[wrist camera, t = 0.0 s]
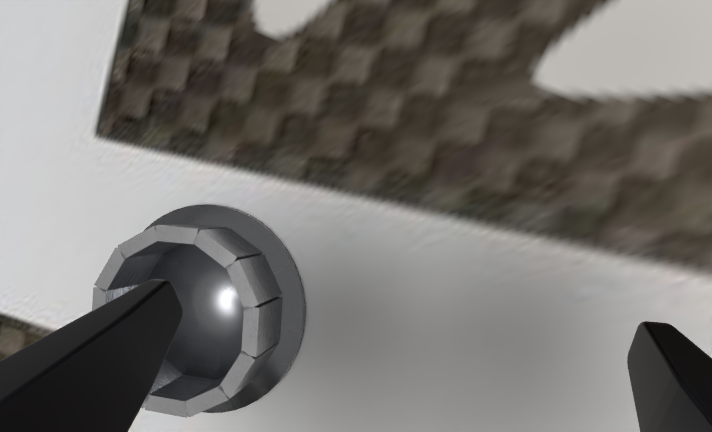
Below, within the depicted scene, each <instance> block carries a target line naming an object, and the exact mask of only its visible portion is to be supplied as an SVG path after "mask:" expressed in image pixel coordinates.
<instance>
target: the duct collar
mask: <svg viewBox="0 0 712 432" xmlns="http://www.w3.org/2000/svg"><path fill="white" fill-rule="evenodd" d="M152 279H159V280H168V281H170V282H171V283H172V284H173V285H174V288H175V290H176V293H177V295H178V298H179V300H180V303H181V305H182V308H183V316H182V320H181V322H180V324H179V327H178V329H177V331H176V334H175V336H174V338H173V341H172V343H171V345H170V348H169V350H168V352H167V355H166V357H165V359H164V362H163V364H162V366H161V369H160V371H159V373H158V375H157V378H156V380H155V382H154V384H153V386H152V388H151V390H150V392H149V394H148V396H147V397H146V399H145V401H144V403H143V405H142V408H144V407H145V410H149V411H154V412H160V413H165V414H170V415H175V416H181V417H188V416H189V417H191V416H193V415H195V414H198V413H200V412H207V413H219V412H227V411H232V410H236V409H239V408H242V407H245V406H247V405H249V404H251V403H253V402H255V401H257V400H258V399H260V398H261V397H262V396H264V395H265V394H267V393H268V392H269V391H270V390H271V389H272V388H273V387H274V386H275V385H276V384H277V383H278V382H279V381H280V380H281V379H282V378H283V376H284V375H285V374H286V372H287V371H288V370H289V368H290V366H291V364H292V363H293V361H294V359H295V357H296V354H297V352H298V349H299V347H300V344H301V340H302V336H303V332H304V324H305V300H304V292H303V287H302V283H301V279H300V276H299V273H298V271H297V268H296V266H295V263H294V261H293V260H292V258H291V256H290V254H289V252H288V251H287V249H286V248H285V246H284V245H283V244H282V242H281V241H280V240H279V239H278V238H277V236H276V235H275V234H274V233H273V232H272V231H271V230H270V229H269V228H267V227H266V226H265V225H264V224H263V223H261V222H260V221H258V220H257V219H255V218H253V217H252V216H250V215H248V214H246V213H244V212H241V211H239V210H236V209H233V208H229V207H224V206H217V205H195V206H188V207H184V208H180V209H177V210H174V211H172V212H170V213H168V214H166V215H164V216H162V217H160V218H159V219H157V220H156V221H154V222H153V223H152V224H151V225H150V226H148V227H147V228H146V229H145V230H144V231H143V232H142V233H140V234H138V235H136V236H134V237H133V238H131V239H129V240H127V241H125V242H124V243H122V244H120V245H118V248H115V250H114V252H113V253H112V255H111V257H110V258H109V260H108V262H107V264H106V265H105V267H104V269H103V271H102V272H101V274H100V276H99V277H98V279H97V281H96V283H95V284H94V285H95V286H97V287H94V288H93V305H92V311H93V310H95V309H97V308H99V307H101V306H102V305H104V304H106V303H108V302H110V301H112V300H113V299H115V298H117V297H119V296H121V295H123V294H125V293H126V292H128V291H130V290H132V289H134V288H136V287H137V286H139V285H141V284H143V283H145V282H147V281H149V280H152Z"/></svg>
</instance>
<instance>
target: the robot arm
mask: <svg viewBox="0 0 712 432" xmlns="http://www.w3.org/2000/svg"><path fill="white" fill-rule="evenodd" d="M182 316H183V308H182V305H181V303H180V300H179V298H178V295H177V293H176V290H175V288H174V285H173V284H172V283H171V282H170V281H168V280H159V279H152V280H149V281H147V282H145V283H143V284H141V285H139V286H137V287H136V288H134V289H132V290H130V291H128V292H126V293H125V294H123V295H121V296H119V297H117V298H115V299H113V300H112V301H110V302H108V303H106V304H104V305H102V306H101V307H99V308H97V309H95V310H93V311H91V312H89V313H88V314H86V315H84V316H82V317H80V318H78V319H77V320H75V321H73V322H71V323H69V324H67V325H65V326H64V327H62V328H60V329H58V330H56V331H54V332H53V333H51V334H49V335H47V336H45V337H43V338H41V339H40V340H38V341H36V342H34V343H32V344H30V345H29V346H27V347H25V348H23V349H21V350H19V351H17V352H16V353H14V354H12V355H10V356H8V357H6V358H5V359H3V360H1V361H0V432H128V430H129V428H130V427H131V425H132V423H133V421H134V419H135V417H136V416H137V414H138V412H139V410H140V408H141V407H142V405H143V403H144V401H145V399H146V397H147V396H148V394H149V392H150V390H151V388H152V386H153V384H154V382H155V380H156V378H157V375H158V373H159V371H160V369H161V366H162V364H163V362H164V359H165V357H166V355H167V352H168V350H169V348H170V345H171V343H172V341H173V338H174V336H175V334H176V331H177V329H178V327H179V324H180V322H181V320H182ZM627 363H628V370H629V376H630V381H631V386H632V391H633V396H634V401H635V406H636V412H637V417H638V422H639V427H640V432H712V358H711V357H709V356H708V355H707V354H706V353H705V352H703V351H702V350H701V349H700V348H699V347H697V346H696V345H695V344H694V343H693V342H691V341H690V340H689V339H688V338H687V337H685V336H684V335H683V334H682V333H681V332H679V331H678V330H677V329H676V328H675V327H673V326H672V325H670V324H667V323H658V322H647V321H645V322H642V323H640V325H639V326H638V328H637V331H636V333H635V336H634V339H633V342H632V344H631V347H630V350H629V353H628V360H627Z"/></svg>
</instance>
